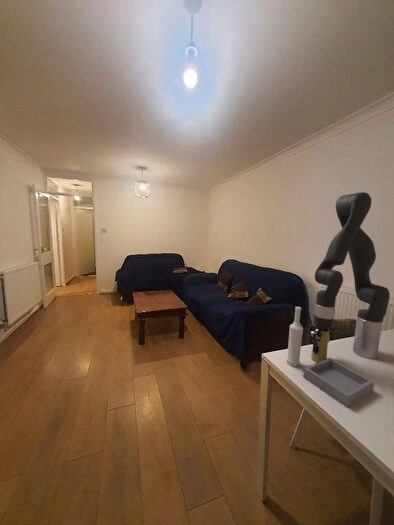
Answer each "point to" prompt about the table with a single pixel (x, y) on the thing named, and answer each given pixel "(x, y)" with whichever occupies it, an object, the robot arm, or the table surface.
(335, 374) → the bin
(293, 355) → the bottle
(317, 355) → the vase
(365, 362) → the table surface
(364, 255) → the robot arm
